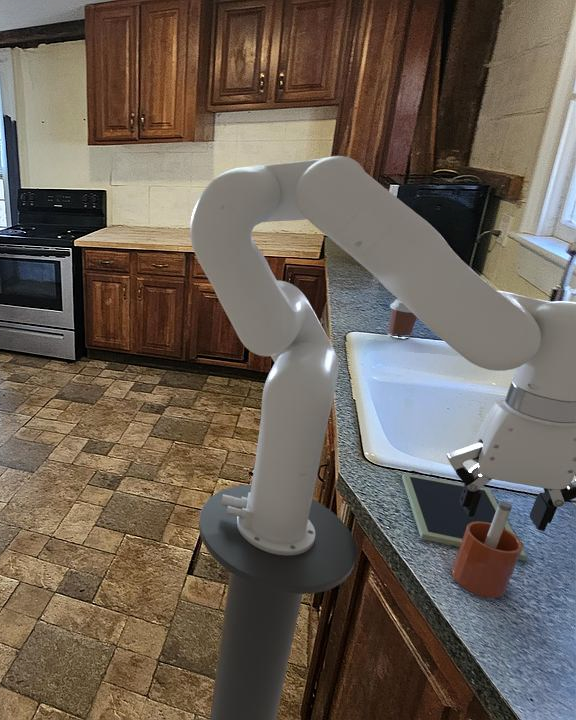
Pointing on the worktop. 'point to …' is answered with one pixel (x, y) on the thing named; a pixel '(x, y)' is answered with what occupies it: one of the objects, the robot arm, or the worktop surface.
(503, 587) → the pen cup
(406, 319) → the coffee cup
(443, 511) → the tablet
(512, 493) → the worktop surface
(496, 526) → the stylus
